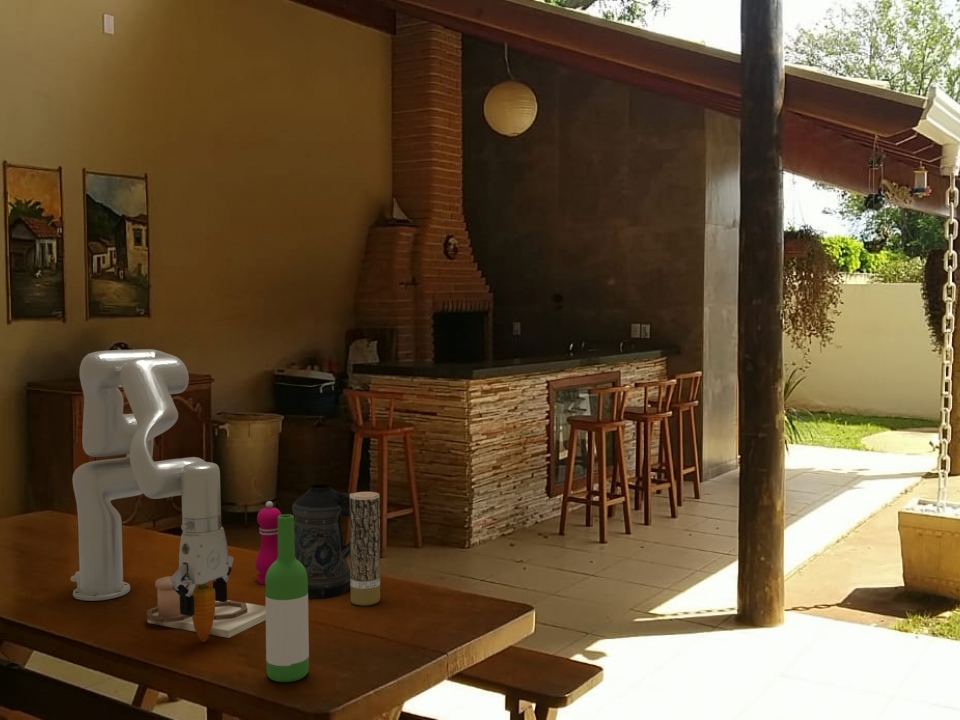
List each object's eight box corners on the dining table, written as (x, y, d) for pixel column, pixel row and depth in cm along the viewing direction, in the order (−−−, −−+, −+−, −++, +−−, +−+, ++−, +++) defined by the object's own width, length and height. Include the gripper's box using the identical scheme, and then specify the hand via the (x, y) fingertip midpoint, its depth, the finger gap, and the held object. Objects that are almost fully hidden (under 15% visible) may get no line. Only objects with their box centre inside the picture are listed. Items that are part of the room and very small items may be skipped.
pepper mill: (288, 577, 239) (287, 498, 238) (280, 585, 232) (279, 504, 231) (260, 576, 240) (259, 497, 239) (251, 585, 233) (250, 504, 232)
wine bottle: (316, 677, 176) (314, 516, 174) (276, 687, 171) (274, 522, 169) (298, 664, 182) (296, 509, 180) (259, 673, 178) (257, 514, 176)
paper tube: (385, 599, 221) (385, 493, 220) (370, 608, 215) (369, 498, 214) (360, 595, 224) (359, 490, 223) (344, 604, 218) (343, 496, 216)
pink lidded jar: (149, 616, 205) (148, 582, 205) (170, 607, 211) (170, 574, 210) (172, 620, 202) (171, 586, 202) (193, 611, 208) (192, 578, 208)
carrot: (193, 648, 191) (192, 574, 190) (188, 640, 195) (187, 568, 194) (218, 644, 193) (217, 571, 192) (213, 636, 197) (212, 564, 196)
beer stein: (276, 583, 234) (274, 482, 233) (353, 574, 242) (352, 476, 240) (290, 602, 219) (289, 495, 218) (372, 592, 227) (371, 488, 225)
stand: (137, 624, 204) (136, 614, 204) (195, 600, 220) (195, 591, 220) (222, 641, 194) (221, 630, 194) (276, 614, 211) (276, 604, 211)
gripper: (186, 535, 183) (188, 623, 184) (244, 517, 199) (246, 598, 199) (156, 531, 186) (158, 618, 187) (216, 514, 202) (218, 594, 203)
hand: (204, 607), depth 193 cm, fingers open, 9 cm apart
